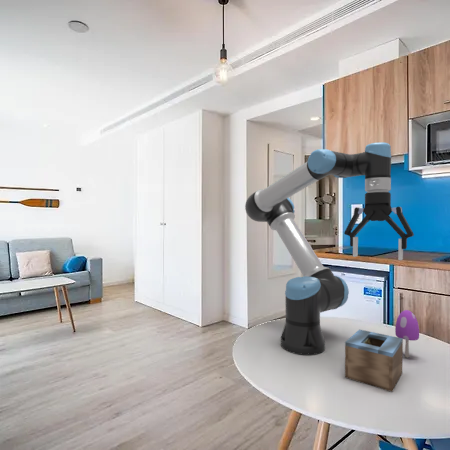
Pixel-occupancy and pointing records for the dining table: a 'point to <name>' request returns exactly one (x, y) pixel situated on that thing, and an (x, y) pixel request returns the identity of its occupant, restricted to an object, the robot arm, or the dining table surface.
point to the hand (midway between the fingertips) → (377, 258)
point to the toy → (407, 328)
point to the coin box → (374, 359)
